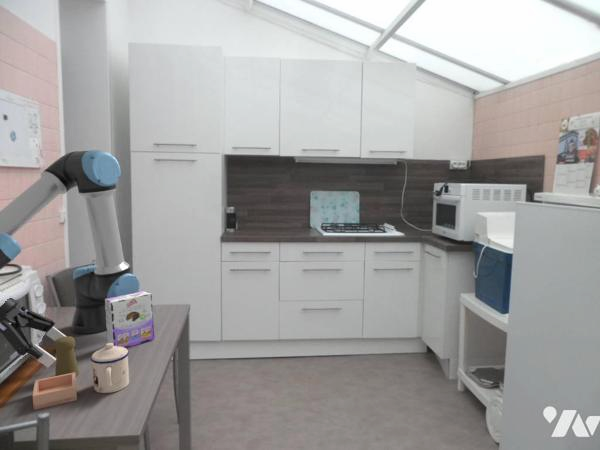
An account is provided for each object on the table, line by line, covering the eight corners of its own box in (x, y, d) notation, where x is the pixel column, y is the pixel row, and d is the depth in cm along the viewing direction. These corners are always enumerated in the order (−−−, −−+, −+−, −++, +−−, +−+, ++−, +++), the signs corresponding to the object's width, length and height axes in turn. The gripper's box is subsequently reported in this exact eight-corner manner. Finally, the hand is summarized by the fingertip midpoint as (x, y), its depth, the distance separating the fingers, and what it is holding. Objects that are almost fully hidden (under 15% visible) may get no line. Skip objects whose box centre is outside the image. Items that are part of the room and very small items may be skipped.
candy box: (147, 335, 150) (144, 290, 148) (154, 340, 146) (152, 293, 144) (107, 346, 141) (103, 298, 139) (113, 351, 136) (110, 301, 135)
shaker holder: (36, 393, 111) (35, 380, 110) (76, 384, 115) (75, 372, 115) (33, 409, 103) (32, 396, 102) (76, 400, 107) (75, 386, 106)
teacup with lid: (95, 380, 117) (92, 340, 116) (131, 375, 120) (128, 335, 119) (89, 402, 106) (86, 357, 104) (128, 396, 109) (126, 352, 107)
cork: (68, 381, 117) (65, 342, 116) (49, 379, 118) (46, 341, 117) (84, 371, 123) (81, 334, 121) (65, 369, 124) (63, 333, 123)
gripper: (4, 302, 125) (64, 346, 130) (-42, 331, 101) (33, 384, 106) (23, 283, 126) (82, 327, 131) (-19, 308, 102) (55, 361, 107)
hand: (60, 353), depth 119 cm, fingers open, 13 cm apart
